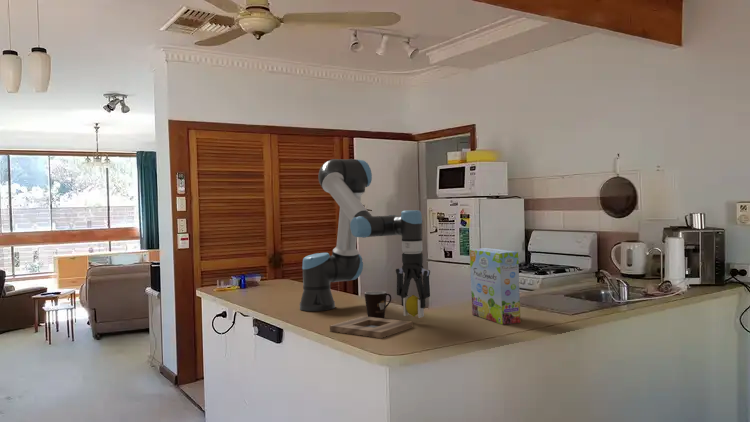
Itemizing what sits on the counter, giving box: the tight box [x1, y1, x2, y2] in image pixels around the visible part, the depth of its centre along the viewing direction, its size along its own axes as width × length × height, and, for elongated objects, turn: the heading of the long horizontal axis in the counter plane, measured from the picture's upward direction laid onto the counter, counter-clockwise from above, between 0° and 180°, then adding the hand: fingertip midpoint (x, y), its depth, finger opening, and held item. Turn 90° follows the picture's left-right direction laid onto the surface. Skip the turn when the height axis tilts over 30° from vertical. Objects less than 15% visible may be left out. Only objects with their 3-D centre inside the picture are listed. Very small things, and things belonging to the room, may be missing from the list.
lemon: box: [406, 294, 419, 318], centre depth 206 cm, size 6×6×8 cm
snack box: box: [469, 247, 522, 326], centre depth 210 cm, size 22×9×26 cm, turn 21°
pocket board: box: [329, 315, 413, 339], centre depth 198 cm, size 22×19×2 cm
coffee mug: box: [363, 290, 392, 319], centre depth 218 cm, size 12×9×10 cm
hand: (413, 315), depth 206 cm, fingers closed on lemon, 5 cm apart
